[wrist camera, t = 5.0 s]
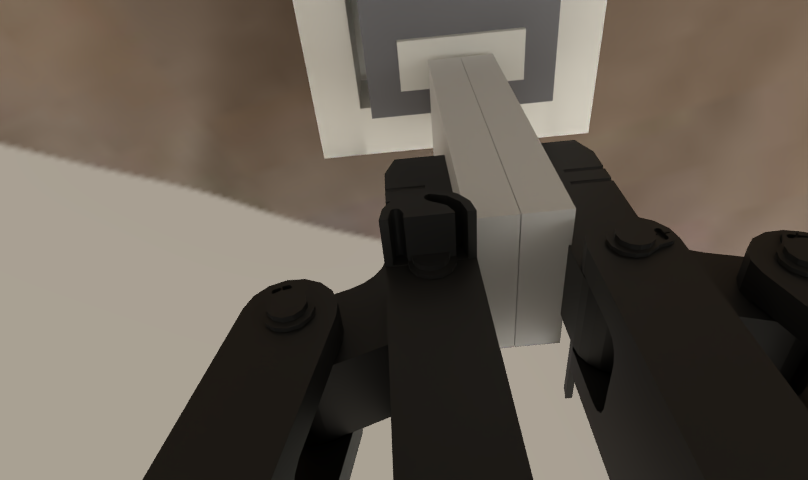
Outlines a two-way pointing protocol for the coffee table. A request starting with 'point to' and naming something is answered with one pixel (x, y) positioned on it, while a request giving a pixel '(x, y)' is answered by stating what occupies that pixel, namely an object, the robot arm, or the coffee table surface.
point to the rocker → (455, 46)
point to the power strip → (360, 134)
